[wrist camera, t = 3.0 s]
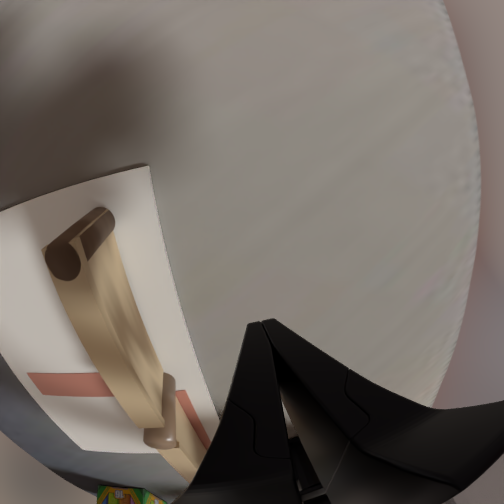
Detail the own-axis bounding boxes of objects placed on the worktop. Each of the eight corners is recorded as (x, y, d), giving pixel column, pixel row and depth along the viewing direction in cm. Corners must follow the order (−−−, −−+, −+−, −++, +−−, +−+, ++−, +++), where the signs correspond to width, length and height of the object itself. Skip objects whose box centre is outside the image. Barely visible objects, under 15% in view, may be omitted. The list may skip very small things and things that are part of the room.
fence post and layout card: (149, 165, 12) (117, 181, 7) (231, 447, 23) (240, 491, 18) (-50, 235, 10) (-94, 267, 5) (87, 451, 21) (82, 489, 16)
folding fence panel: (166, 369, 17) (164, 427, 12) (144, 371, 16) (138, 428, 12) (111, 203, 12) (72, 236, 8) (84, 210, 12) (39, 244, 8)
